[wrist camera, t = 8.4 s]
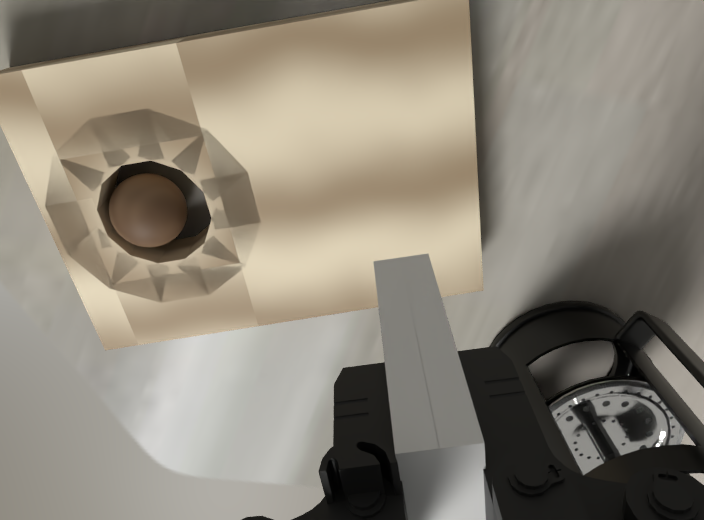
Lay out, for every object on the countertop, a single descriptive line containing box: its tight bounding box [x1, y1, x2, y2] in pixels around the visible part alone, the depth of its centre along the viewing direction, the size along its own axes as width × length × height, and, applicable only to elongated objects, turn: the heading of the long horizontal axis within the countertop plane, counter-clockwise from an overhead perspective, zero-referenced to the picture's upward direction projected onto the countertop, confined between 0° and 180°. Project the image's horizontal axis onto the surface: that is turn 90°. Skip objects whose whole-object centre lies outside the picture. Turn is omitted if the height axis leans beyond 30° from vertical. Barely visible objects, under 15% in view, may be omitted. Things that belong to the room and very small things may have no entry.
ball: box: [109, 173, 187, 247], centre depth 26 cm, size 4×4×4 cm
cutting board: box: [0, 0, 483, 350], centre depth 26 cm, size 14×20×2 cm
